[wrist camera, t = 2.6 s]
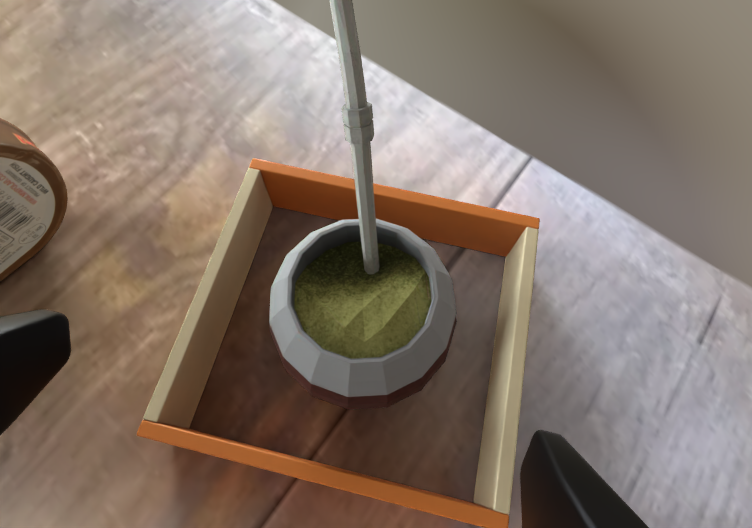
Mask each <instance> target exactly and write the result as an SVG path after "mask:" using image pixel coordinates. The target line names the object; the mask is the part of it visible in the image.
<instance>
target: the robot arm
mask: <svg viewBox="0 0 752 528" xmlns="http://www.w3.org/2000/svg"><path fill="white" fill-rule="evenodd" d="M70 354H71V342H70V331H69V321H68V318H67V317H66V315H64V314H62V313H59V312H55V311H51V310H46V309H40V310H35V311H29V312H24V313H18V314H13V315H7V316H2V317H0V435H1V434H2V433H3V432H4V431H5V430H6V429H7V428H8V427H9V426H10V425H11V424H12V423H13V422H14V421H15V420H16V419H17V418H18V417H19V415H20V414H21V413H22V412H23V411H24V410H25V409H26V408H27V407H28V405H29V404H30V403H31V402H32V401H33V400H34V399H35V398H36V396H37V395H38V394H39V393H40V392H41V391H42V390H43V389H44V387H45V386H46V385H47V384H48V383H49V382H50V381H51V380H52V378H53V377H54V376H55V375H56V374H57V373H58V372H59V371H60V370H61V368H62V367H63V366H64V365H65V364H66V363H67V361H68V359H69V357H70ZM520 486H521V511H522V528H649V527H648V526H647V525H646V524H645V523H644V522H643V521H642V520H641V519H640V518H639V517H638V516H637V515H636V514H635V512H634V511H633V510H632V509H631V508H630V507H629V506H628V505H627V504H626V503H625V502H624V501H623V500H622V499H621V498H620V497H619V496H618V494H617V493H616V492H615V491H614V490H613V489H612V488H611V487H610V486H609V485H608V484H607V483H606V482H605V481H604V480H603V479H602V478H601V476H600V475H599V474H598V473H597V472H596V471H595V470H594V469H593V468H592V467H591V466H590V465H589V464H588V463H587V462H586V461H585V460H584V459H583V457H582V456H581V455H580V454H579V453H578V452H577V451H576V450H575V449H574V448H573V447H572V446H571V445H570V444H569V443H568V442H567V441H566V439H565V438H564V437H562V436H561V435H559V434H556V433H552V432H548V431H544V430H538V431H536V432H535V433H534V435H533V437H532V439H531V442H530V445H529V447H528V450H527V452H526V455H525V457H524V460H523V463H522V466H521V472H520Z"/></svg>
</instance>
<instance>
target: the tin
mask: <svg viewBox="0 0 752 528" xmlns="http://www.w3.org/2000/svg"><path fill="white" fill-rule="evenodd" d="M66 207H67V189H66V185H65V182H64V180H63V178H62V176H61V174H60V172H59V170H58V169H57V167H56V166H55V165H54V163H53V162H52V161H51V160H50V159H49V158H48V157H47V156H46V155H45V154H44V153H43V152H42V151H40V150H39V149H38V148H37V147H36V146H35V144H34V143H33V141H32V140H31V139H30V138H29V137H28V136H27V135H26V134H25V133H24V132H23V131H22V130H20V129H19V128H18V127H16V126H14V125H13V124H11V123H9V122H7V121H5V120H3V119H1V118H0V282H1V281H2V280H3V279H4V278H6V277H7V276H8V275H10V274H11V273H12V272H13V271H15V270H16V269H17V268H19V267H20V266H21V265H22V264H24V263H25V262H26V261H27V260H29V259H30V258H31V257H33V256H34V255H35V254H36V253H37V252H38V251H39V250H40V249H42V248H43V247H44V246H45V245H46V244H47V243H48V241H49V240H50V239H51V238H52V237H53V235H54V234H55V233H56V231H57V229H58V228H59V226H60V224H61V223H62V220H63V218H64V215H65V211H66Z"/></svg>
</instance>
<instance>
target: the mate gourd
mask: <svg viewBox="0 0 752 528" xmlns="http://www.w3.org/2000/svg"><path fill="white" fill-rule="evenodd" d="M330 7H331V13H332V18H333V24H334V31H335V37H336V43H337V49H338V55H339V61H340V68H341V75H342V81H343V88H344V95H345V103H346V104H345V105H344V106H343V107H342V108H341V109H342V117H343V122H344V123H345V124H344V132H345V140H347V141H348V142H349V143H350V145H351V154H352V163H353V172H354V181H355V190H356V199H357V208H358V217H359V219H347V220H340V221H338V222H335V223H333V224H330V225H328V226H326V227H323V228H321V229H318V230H316V231H313V232H311V233H310V234H309V235H308V236H307V237H306V238H304V239H303V240H302V241H301V242H300V243H299V244H298V245H297V246H296V247H295V248H294V249H293V250H291V251H290V252H289V253H288V254H287V255H286V257H285V259H284V261H283V263H282V265H281V267H280V269H279V271H278V274H277V276H276V278H275V280H274V282H273V284H272V286H271V294H270V320H269V323H270V333H271V336H272V338H273V341H274V343H275V346H276V348H277V351H278V353H279V356H280V358H281V361H282V363H283V366H284V368H285V370H286V371H287V372H288V373H289V374H290V375H291V376H292V377H293V378H294V379H295V380H296V381H297V382H298V383H299V384H300V385H301V386H302V387H303V388H304V389H305V390H306V391H307V392H308V393H309V394H311V395H312V396H313V397H316V398H319V399H321V400H324V401H327V402H329V403H332V404H335V405H338V406H340V407H343V408H346V409H348V410H351V409H368V408H385V407H389V406H391V405H393V404H395V403H397V402H399V401H401V400H403V399H405V398H407V397H409V396H411V395H412V394H414V393H416V392H418V391H420V390H422V389H423V387H424V386H425V385H426V384H427V382H428V381H429V380H430V379H431V378H432V376H433V375H434V374H435V373H436V372H437V370H438V369H439V368H440V367H441V365H442V364H443V363H444V362H445V360H446V357H447V353H448V350H449V346H450V343H451V339H452V336H453V332H454V329H455V325H456V322H457V321H456V306H455V299H454V291H453V284H452V279H451V277H450V275H449V273H448V272H447V270H446V268H445V267H444V265H443V263H442V261H441V260H440V258H439V256H438V255H437V253H436V251H435V250H434V249H433V248H432V247H431V246H430V245H428V244H427V243H426V242H424V241H423V240H422V239H421V238H419V237H418V236H417V235H415V234H414V233H413V232H412V231H410V230H409V229H408V228H405V227H402V226H398V225H395V224H392V223H389V222H386V221H383V220H379V219H376V217H375V203H374V189H373V175H372V160H371V145H370V141H372V139H373V137H374V127H373V120H372V118H373V113H372V104H371V103H368V102H367V100H366V91H365V83H364V76H363V68H362V61H361V54H360V47H359V41H358V35H357V28H356V22H355V16H354V9H353V3H352V0H330Z"/></svg>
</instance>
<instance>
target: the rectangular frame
mask: <svg viewBox="0 0 752 528" xmlns="http://www.w3.org/2000/svg"><path fill="white" fill-rule="evenodd" d="M373 189H374V203H375V217H376V219H379V220H383V221H386V222H389V223H392V224H395V225H398V226H402V227H405V228H408V229H409V230H410V231H412V232H413V233H414V234H415V235H417V236H418V237H419V238H422V239H427V240H431V241H436V242H440V243H445V244H450V245H454V246H459V247H463V248H468V249H473V250H477V251H482V252H486V253H491V254H496V255H500V256H505V257H506V258H505V265H504V273H503V280H502V288H501V295H500V303H499V310H498V318H497V326H496V333H495V341H494V348H493V356H492V363H491V371H490V378H489V386H488V393H487V401H486V409H485V416H484V424H483V431H482V439H481V446H480V454H479V461H478V469H477V476H476V484H475V492H474V499H473V502H474V503H472V502H468V501H464V500H460V499H456V498H453V497H449V496H445V495H441V494H437V493H433V492H430V491H426V490H422V489H418V488H414V487H410V486H407V485H403V484H399V483H395V482H391V481H387V480H384V479H380V478H376V477H372V476H368V475H364V474H361V473H357V472H353V471H349V470H345V469H341V468H338V467H334V466H330V465H326V464H322V463H318V462H315V461H311V460H307V459H303V458H299V457H295V456H292V455H288V454H284V453H280V452H276V451H272V450H269V449H265V448H261V447H257V446H253V445H249V444H246V443H242V442H238V441H234V440H230V439H226V438H223V437H219V436H215V435H211V434H207V433H203V432H199V431H196V430H192V429H188V428H189V427H190V425H191V422H192V419H193V417H194V414H195V411H196V409H197V406H198V404H199V401H200V398H201V396H202V393H203V390H204V388H205V385H206V382H207V380H208V377H209V375H210V372H211V369H212V367H213V364H214V361H215V359H216V356H217V354H218V351H219V348H220V346H221V343H222V340H223V338H224V335H225V332H226V330H227V327H228V325H229V322H230V319H231V317H232V314H233V311H234V309H235V306H236V304H237V301H238V298H239V296H240V293H241V290H242V288H243V285H244V282H245V280H246V277H247V275H248V272H249V269H250V267H251V264H252V261H253V259H254V256H255V253H256V251H257V248H258V246H259V243H260V240H261V238H262V235H263V232H264V230H265V227H266V225H267V222H268V219H269V217H270V214H271V211H272V209H273V206H275V207H280V208H284V209H289V210H294V211H298V212H303V213H307V214H312V215H317V216H321V217H326V218H330V219H335V220H347V219H359V217H358V208H357V199H356V190H355V181H354V179H350V178H345V177H340V176H336V175H331V174H326V173H321V172H317V171H312V170H307V169H302V168H298V167H293V166H288V165H283V164H279V163H274V162H269V161H264V160H260V159H255V158H253V159H252V162H251V164H250V166H249V169H248V171H247V173H246V176H245V178H244V180H243V183H242V185H241V187H240V190H239V192H238V194H237V197H236V199H235V202H234V204H233V206H232V209H231V211H230V213H229V216H228V218H227V221H226V223H225V225H224V228H223V230H222V232H221V235H220V237H219V239H218V242H217V244H216V247H215V249H214V251H213V254H212V256H211V258H210V261H209V263H208V266H207V268H206V270H205V273H204V275H203V277H202V280H201V282H200V284H199V287H198V289H197V292H196V294H195V296H194V299H193V301H192V303H191V306H190V308H189V311H188V313H187V315H186V318H185V320H184V322H183V325H182V327H181V329H180V332H179V334H178V337H177V339H176V341H175V344H174V346H173V348H172V351H171V353H170V356H169V358H168V360H167V363H166V365H165V367H164V370H163V372H162V374H161V377H160V379H159V382H158V384H157V386H156V389H155V391H154V393H153V396H152V398H151V401H150V403H149V405H148V408H147V410H146V412H145V415H144V417H143V419H144V420H142V422H141V424H140V427H139V429H138V432H137V436H140V437H144V438H148V439H151V440H155V441H159V442H163V443H167V444H170V445H174V446H178V447H182V448H185V449H189V450H193V451H197V452H201V453H204V454H208V455H212V456H216V457H220V458H223V459H227V460H231V461H235V462H238V463H242V464H246V465H250V466H254V467H257V468H261V469H265V470H269V471H272V472H276V473H280V474H284V475H288V476H291V477H295V478H299V479H303V480H307V481H310V482H314V483H318V484H322V485H325V486H329V487H333V488H337V489H341V490H344V491H348V492H352V493H356V494H359V495H363V496H367V497H371V498H375V499H378V500H382V501H386V502H390V503H394V504H397V505H401V506H405V507H409V508H412V509H416V510H420V511H424V512H428V513H431V514H435V515H439V516H443V517H446V518H450V519H454V520H458V521H462V522H465V523H469V524H473V525H477V526H481V527H484V528H508V523H509V515H507V514H509V513H510V504H511V494H512V484H513V475H514V465H515V455H516V445H517V436H518V426H519V416H520V406H521V397H522V387H523V377H524V368H525V358H526V348H527V338H528V329H529V319H530V309H531V299H532V290H533V280H534V270H535V260H536V251H537V241H538V229H539V222H540V219H539V218H535V217H531V216H526V215H521V214H516V213H512V212H507V211H502V210H497V209H493V208H488V207H483V206H478V205H474V204H469V203H464V202H459V201H455V200H450V199H445V198H440V197H436V196H431V195H426V194H421V193H417V192H412V191H407V190H402V189H398V188H393V187H388V186H383V185H378V184H374V183H373Z"/></svg>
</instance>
